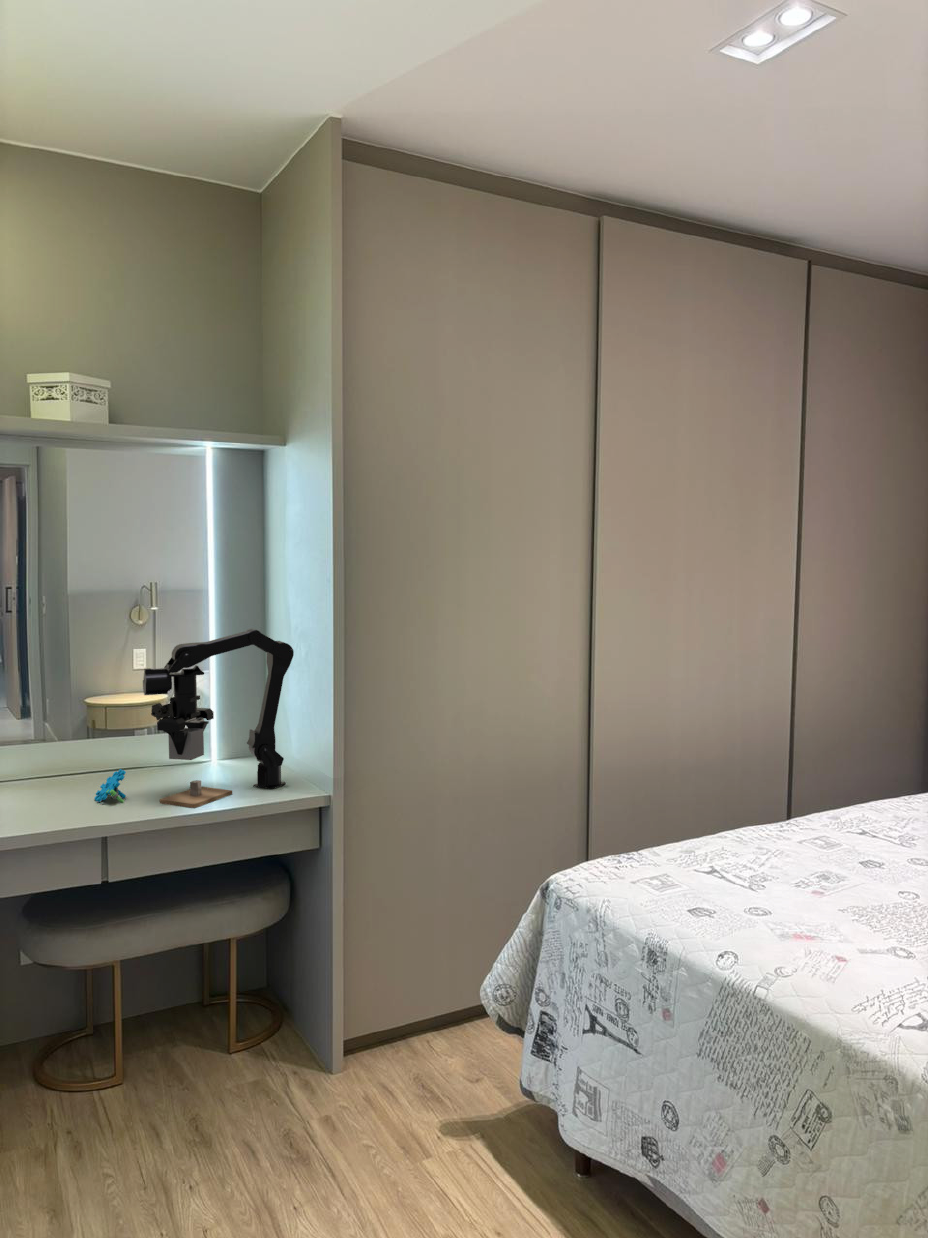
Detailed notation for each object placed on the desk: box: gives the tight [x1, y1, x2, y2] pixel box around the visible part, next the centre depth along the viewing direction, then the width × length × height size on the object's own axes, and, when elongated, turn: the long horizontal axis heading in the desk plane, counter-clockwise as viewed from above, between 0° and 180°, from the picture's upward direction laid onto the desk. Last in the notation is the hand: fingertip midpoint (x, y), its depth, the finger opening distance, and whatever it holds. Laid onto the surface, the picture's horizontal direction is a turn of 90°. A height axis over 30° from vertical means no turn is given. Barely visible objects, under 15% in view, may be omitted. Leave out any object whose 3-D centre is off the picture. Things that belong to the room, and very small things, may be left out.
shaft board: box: [159, 779, 233, 809], centre depth 247 cm, size 15×11×4 cm
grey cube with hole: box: [167, 727, 205, 761], centre depth 251 cm, size 6×6×7 cm
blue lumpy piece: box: [94, 768, 127, 804], centre depth 246 cm, size 11×6×10 cm
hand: (186, 751), depth 251 cm, fingers closed on grey cube with hole, 6 cm apart
